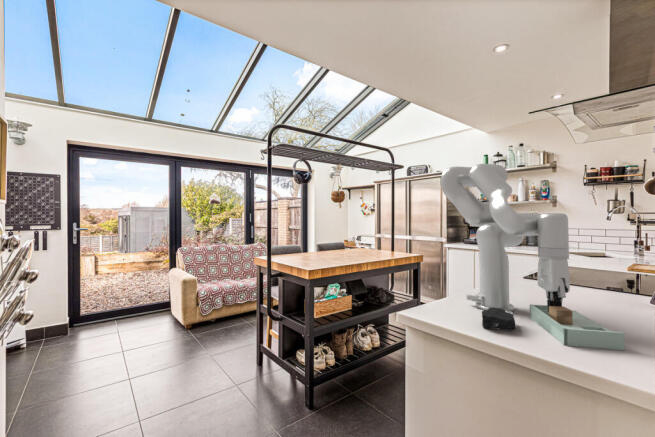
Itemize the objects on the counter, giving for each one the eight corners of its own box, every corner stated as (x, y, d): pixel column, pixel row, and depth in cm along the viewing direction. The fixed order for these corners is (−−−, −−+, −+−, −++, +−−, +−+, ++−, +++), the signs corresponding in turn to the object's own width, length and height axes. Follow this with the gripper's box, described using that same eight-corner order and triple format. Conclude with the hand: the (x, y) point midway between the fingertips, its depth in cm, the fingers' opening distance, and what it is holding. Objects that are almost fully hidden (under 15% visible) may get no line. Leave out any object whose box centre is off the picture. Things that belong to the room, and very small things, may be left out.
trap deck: (563, 345, 77) (563, 329, 77) (529, 317, 98) (529, 304, 98) (624, 350, 74) (624, 333, 74) (575, 320, 95) (575, 306, 95)
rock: (480, 319, 97) (480, 302, 97) (512, 323, 93) (512, 305, 93) (482, 331, 88) (482, 312, 88) (517, 335, 84) (517, 315, 84)
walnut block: (556, 324, 84) (556, 310, 84) (548, 319, 88) (548, 306, 88) (572, 324, 83) (572, 310, 83) (564, 319, 87) (563, 306, 87)
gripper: (529, 250, 98) (530, 305, 98) (550, 256, 84) (552, 320, 84) (555, 250, 96) (556, 306, 96) (582, 256, 82) (583, 322, 82)
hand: (554, 313), depth 90 cm, fingers closed
